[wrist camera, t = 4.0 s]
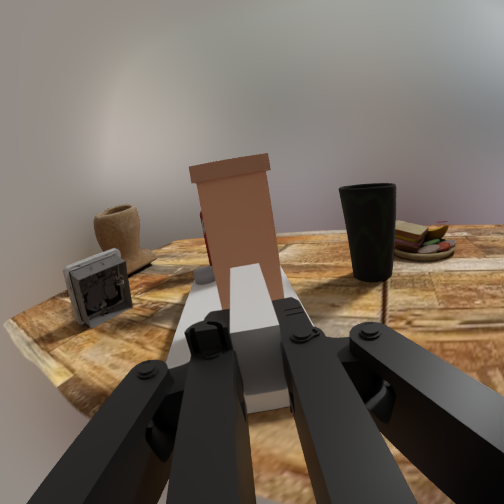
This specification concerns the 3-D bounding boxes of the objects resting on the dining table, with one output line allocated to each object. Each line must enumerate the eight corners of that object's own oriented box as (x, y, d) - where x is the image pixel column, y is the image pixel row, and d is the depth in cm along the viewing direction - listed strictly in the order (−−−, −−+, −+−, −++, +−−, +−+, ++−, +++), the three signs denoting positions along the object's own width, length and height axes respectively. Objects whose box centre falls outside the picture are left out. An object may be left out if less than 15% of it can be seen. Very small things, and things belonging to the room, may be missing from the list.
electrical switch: (125, 301, 41) (111, 245, 38) (143, 309, 38) (128, 249, 35) (77, 325, 33) (58, 266, 30) (91, 337, 30) (69, 272, 28)
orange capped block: (291, 322, 22) (267, 153, 19) (223, 334, 22) (188, 166, 18) (284, 305, 25) (262, 157, 22) (224, 316, 25) (194, 169, 21)
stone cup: (121, 286, 48) (101, 209, 44) (93, 282, 54) (76, 217, 50) (172, 261, 61) (158, 195, 57) (140, 260, 67) (127, 203, 63)
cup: (392, 287, 30) (389, 187, 27) (337, 282, 35) (329, 190, 32) (403, 266, 36) (400, 182, 33) (356, 262, 41) (350, 184, 38)
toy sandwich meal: (443, 268, 32) (444, 236, 31) (371, 255, 43) (369, 227, 42) (462, 246, 39) (462, 220, 37) (402, 238, 50) (401, 215, 49)
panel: (336, 394, 17) (337, 350, 16) (167, 420, 16) (147, 379, 15) (278, 274, 42) (275, 249, 41) (200, 288, 41) (194, 263, 40)
